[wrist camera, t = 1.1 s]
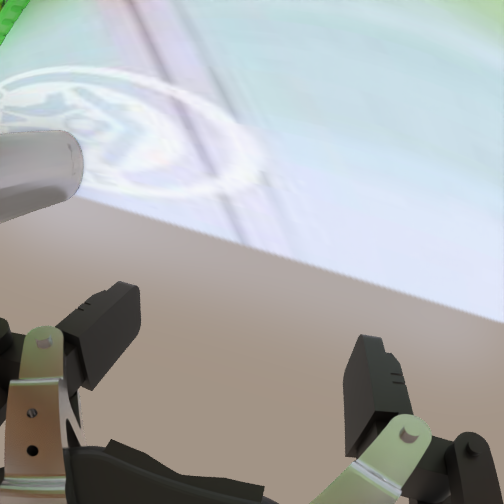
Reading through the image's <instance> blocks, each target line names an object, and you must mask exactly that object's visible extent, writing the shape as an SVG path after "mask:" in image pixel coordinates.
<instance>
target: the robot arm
mask: <svg viewBox="0 0 504 504" xmlns="http://www.w3.org/2000/svg"><path fill="white" fill-rule="evenodd" d="M83 167H84V166H83V156H82V151H81V149H80V146H79V144H78V142H77V141H76V139H75V138H74V137H73V136H72V135H71V134H69V133H68V132H66V131H61V130H58V131H33V132H18V133H6V134H0V223H3V222H6V221H9V220H11V219H14V218H17V217H19V216H22V215H25V214H27V213H30V212H33V211H36V210H39V209H42V208H45V207H48V206H51V205H54V204H57V203H60V202H63V201H66V200H68V199H70V198H71V197H72V196H73V195H74V194H75V192H76V191H77V189H78V188H79V185H80V183H81V180H82V176H83ZM140 326H141V311H140V290H139V288H138V286H136V285H132V284H128V283H125V282H121V281H118V282H117V283H116V284H114V285H113V286H112V287H111V288H110V289H108V290H107V291H106V290H104V291H101V292H99V293H96V294H94V295H92V296H91V297H90V298H89V299H87V300H86V301H85V303H84V304H81V305H80V306H79V307H78V309H75V310H74V311H73V312H72V313H71V314H69V315H68V316H67V317H66V318H65V319H64V320H62V321H61V322H60V323H59V324H58V325H56V326H55V327H52V326H41V327H37V328H35V329H33V330H31V331H30V332H29V333H28V334H27V335H22V334H17V333H12V332H11V331H10V328H9V324H8V322H7V321H6V320H5V319H3V318H0V426H1V424H2V423H3V422H4V421H5V419H6V424H5V425H6V426H5V453H4V455H5V457H4V459H5V460H4V463H5V467H2V468H0V504H279V503H277V502H275V501H273V500H271V499H269V498H267V497H264V496H263V492H264V486H260V485H255V484H250V483H245V482H240V481H236V480H232V479H227V478H216V477H200V476H187V475H181V474H178V473H176V472H174V471H173V470H171V469H170V468H168V467H166V466H165V465H163V464H161V463H160V462H158V461H157V460H155V459H153V458H152V457H150V456H149V455H147V454H146V453H144V452H141V451H139V450H136V449H134V448H131V447H129V446H126V445H124V444H122V443H119V442H117V441H115V440H112V439H111V440H110V442H109V443H108V445H107V446H106V447H98V446H87V443H86V439H85V435H84V428H83V420H82V413H81V403H80V395H79V391H78V388H79V387H80V386H82V387H84V388H86V389H88V390H91V391H93V389H94V388H95V387H96V386H97V384H98V383H99V382H100V381H101V379H102V378H103V377H104V375H105V374H106V373H107V372H108V371H109V369H110V368H111V367H112V366H113V364H114V363H115V362H116V361H117V359H118V358H119V357H120V356H121V355H122V353H123V352H124V351H125V350H126V348H127V347H128V346H129V345H130V344H131V342H132V341H133V340H134V339H135V337H136V336H137V335H138V332H139V330H140ZM402 375H403V373H402V369H401V366H400V363H399V362H398V361H397V359H396V358H395V357H394V356H393V354H392V353H386V352H385V349H384V345H383V342H382V339H381V338H380V337H374V336H367V335H362V334H361V335H360V336H359V337H358V340H357V342H356V344H355V347H354V349H353V352H352V354H351V357H350V359H349V362H348V364H347V367H346V369H345V373H344V378H343V394H344V417H345V454H346V455H345V457H356V461H353V462H352V463H351V464H350V465H349V466H348V467H347V468H346V470H344V472H343V473H341V474H340V476H338V477H337V478H336V479H335V481H333V482H332V483H331V484H330V485H329V486H328V487H327V488H326V489H325V490H324V491H323V492H322V493H321V494H319V496H317V497H316V498H315V499H314V500H313V501H312V502H311V503H310V504H395V502H396V501H397V499H398V498H399V497H400V496H404V497H407V498H409V504H503V500H502V496H501V491H500V486H499V482H498V477H497V473H496V469H495V466H494V462H493V458H492V455H491V451H490V448H489V445H488V443H487V442H486V440H485V439H484V438H483V437H481V436H480V435H478V434H476V433H473V432H464V433H462V434H460V435H459V436H458V437H457V438H456V439H455V440H454V441H453V442H452V441H448V440H445V439H442V438H438V437H435V436H432V434H431V430H430V428H429V426H428V425H427V424H426V423H425V422H424V421H423V420H422V419H420V418H419V417H417V416H414V415H413V411H412V407H411V403H410V399H409V395H408V392H407V387H406V385H405V381H404V377H403V376H402Z"/></svg>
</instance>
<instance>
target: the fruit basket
mask: <svg viewBox="0 0 504 504" xmlns="http://www.w3.org/2000/svg"><path fill="white" fill-rule="evenodd" d="M29 2H30V0H0V45H1V43H2V42H3V40H4V38H5V36H6V35H7V33H8V32H9V31H10V29H11V27H12V26H13V24H14V22H15V21H16V20H17V18H18V17H19V16H20V14H21V13H22V11H23V9H24V8H25V7H26V6H27V4H28V3H29Z"/></svg>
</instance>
